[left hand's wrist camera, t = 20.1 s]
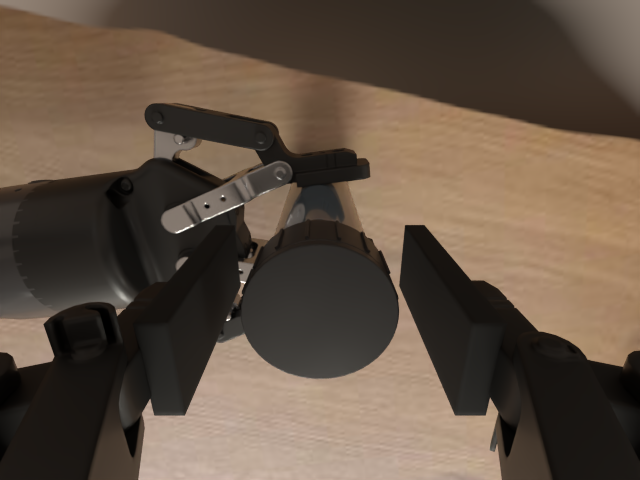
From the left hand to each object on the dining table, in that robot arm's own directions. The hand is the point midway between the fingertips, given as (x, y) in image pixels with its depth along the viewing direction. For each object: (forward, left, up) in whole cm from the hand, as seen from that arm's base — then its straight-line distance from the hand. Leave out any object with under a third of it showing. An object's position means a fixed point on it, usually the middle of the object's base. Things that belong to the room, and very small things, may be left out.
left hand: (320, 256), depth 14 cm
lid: (0, 0, +4) cm, 4 cm away
